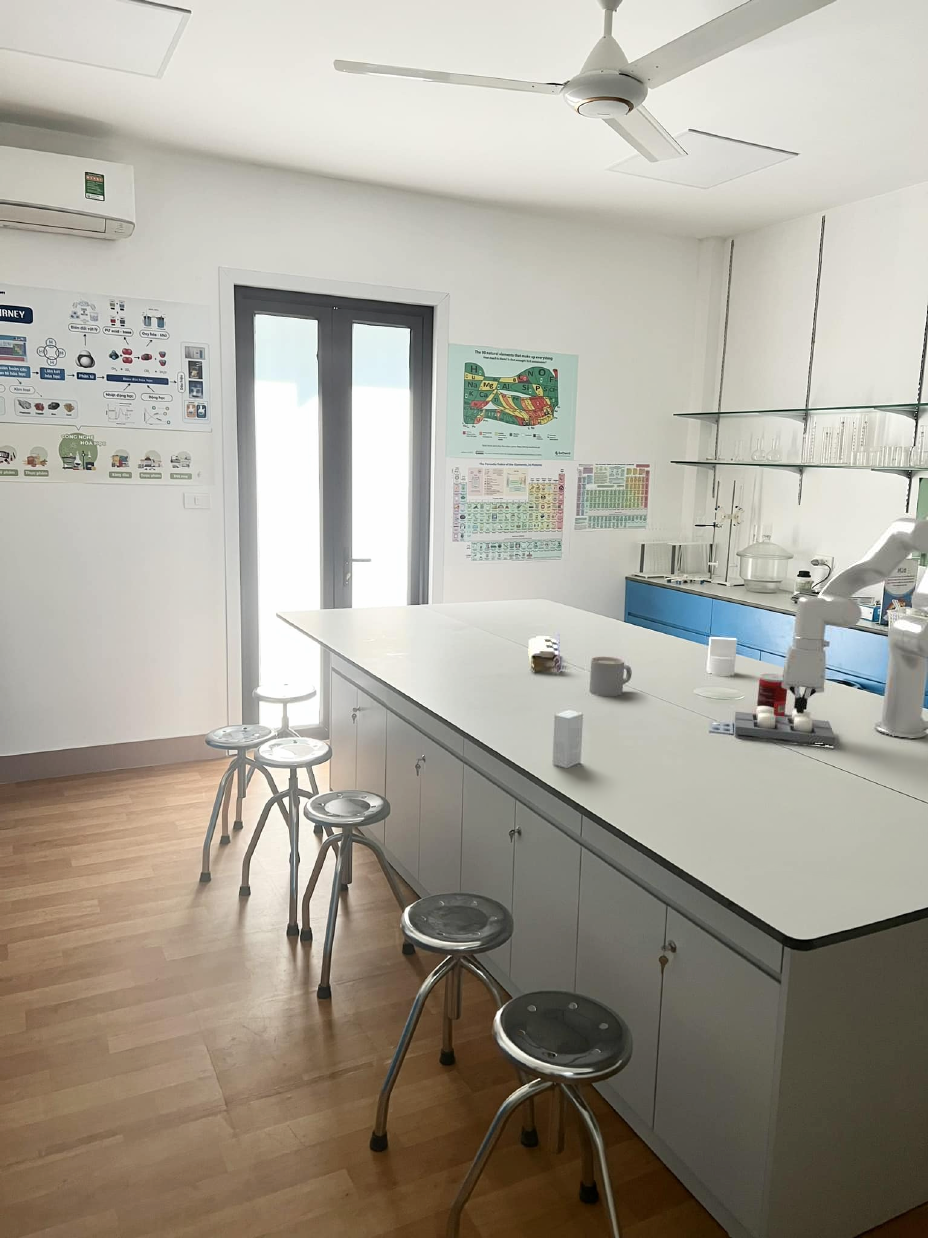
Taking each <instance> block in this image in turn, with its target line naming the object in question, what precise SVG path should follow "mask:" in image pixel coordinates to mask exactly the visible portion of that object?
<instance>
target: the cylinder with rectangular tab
mask: <svg viewBox="0 0 928 1238" xmlns="http://www.w3.org/2000/svg"><path fill="white" fill-rule="evenodd" d="M737 644H738V639H737V638H736V637H722V636H721V637H720V636H719V637H718V636H717V637H716V636H709V639H708V652H707V663H706V672H707V671H708V673H707V674H709V673H712V674H716V675H715V676H717V675H732V674H734V675H735V666H736V657H737V647H738V645H737ZM712 674H711V675H712ZM732 676H733V675H732Z"/></svg>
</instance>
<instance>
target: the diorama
mask: <svg viewBox="0 0 928 1238" xmlns="http://www.w3.org/2000/svg"><path fill="white" fill-rule="evenodd" d="M557 635H558V638H557V640H556V639H555V638H551V637H550V636H549V635H548V636H547V635H546V636H544V635H536V637H532V638H530V639H529V640H528V648H527V649H528V650H527V653H528V659H529V665H530V669H531V670H532V672H533V674H534V673H535V672H536V671H535V666H534V659H533V657H532V656H542V657H541V658H553V661H554V666H556V673H559V674H560V672H561V671H562V670H563V658H564V657H563V654H562V652H561V651H562V650H561V647H560V642H561V641H560V640H561V639H560V635H561V634H560V633H558V634H557ZM558 665H559V666H558ZM557 666H558V667H557Z"/></svg>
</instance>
